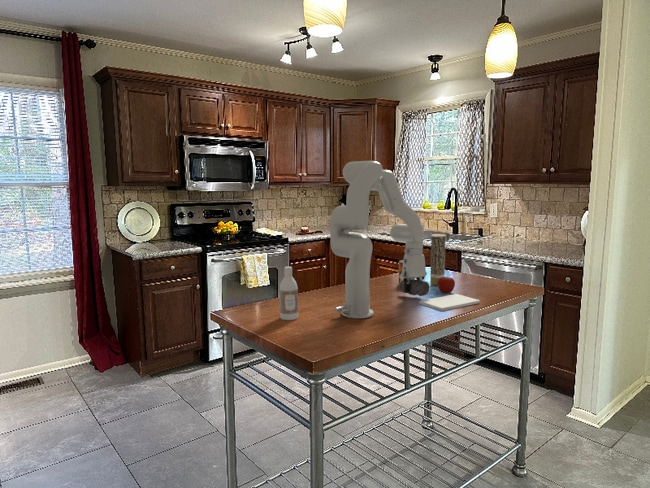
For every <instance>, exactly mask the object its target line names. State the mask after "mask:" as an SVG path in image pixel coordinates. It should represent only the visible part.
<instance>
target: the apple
mask: <svg viewBox="0 0 650 488" xmlns="http://www.w3.org/2000/svg"><path fill="white" fill-rule="evenodd" d="M455 286H456V282H455V279H454V278H453V277H450V276H449V277H448V276H444V277H441V278H440V279H439V280H438V286H437V287H438V290H439V291H440V292H441V293H442V294H451V293H452V292H453V290H454V289H455Z"/></svg>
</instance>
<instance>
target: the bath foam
mask: <svg viewBox="0 0 650 488" xmlns="http://www.w3.org/2000/svg"><path fill="white" fill-rule="evenodd" d="M283 271H284V272H283V273H284V275H283V276H284V277H283V278H282V280H281V282H280V284H279V290H278V291H279V315H280V316H279V317H280V319H281V320H283V321H294V320H297V319H298V318H299V295H298V294H299V291H298V289H299V288H298V284H297V281H296V280H295V278H294V277H293V266H284V269H283Z"/></svg>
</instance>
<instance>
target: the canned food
mask: <svg viewBox="0 0 650 488" xmlns="http://www.w3.org/2000/svg"><path fill="white" fill-rule="evenodd" d="M403 260H404V259H401V260H398V285H399V284H400V282H401V281H402V279H400V277H399V276H400V274H401V273H402V268H403ZM404 278H405V277H404ZM407 280H408V278H407ZM411 280H416V278H411Z"/></svg>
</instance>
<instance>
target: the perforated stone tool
mask: <svg viewBox="0 0 650 488" xmlns="http://www.w3.org/2000/svg"><path fill="white" fill-rule="evenodd" d="M409 284H410V293H406V292H404V285H405V283H403V281H401V282H400V284H399V283H398V288H399V290H400V291H401V292H402V293H404V294H408V295H410V296H419V297H423V296H424V297H425V296H426V295H428V294H429V292H430V283H429V282H428V281H424V280H423V281H421V280H420V281H419V280H416V279H415V280H410V283H409Z"/></svg>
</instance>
